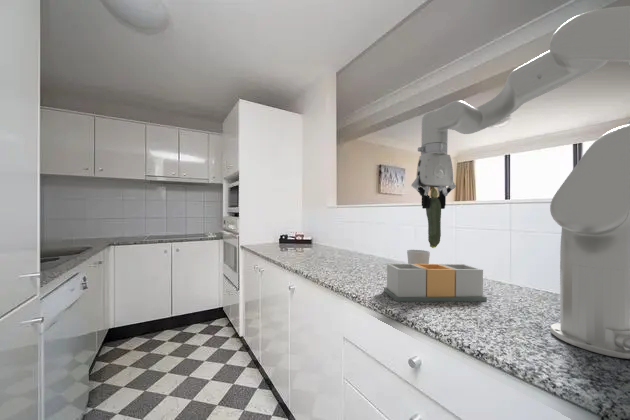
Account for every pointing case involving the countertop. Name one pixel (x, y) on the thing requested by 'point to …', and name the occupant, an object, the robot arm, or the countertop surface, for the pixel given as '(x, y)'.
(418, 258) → the cup
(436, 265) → the compartment organizer
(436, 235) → the vegetable
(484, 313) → the countertop surface
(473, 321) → the countertop surface
